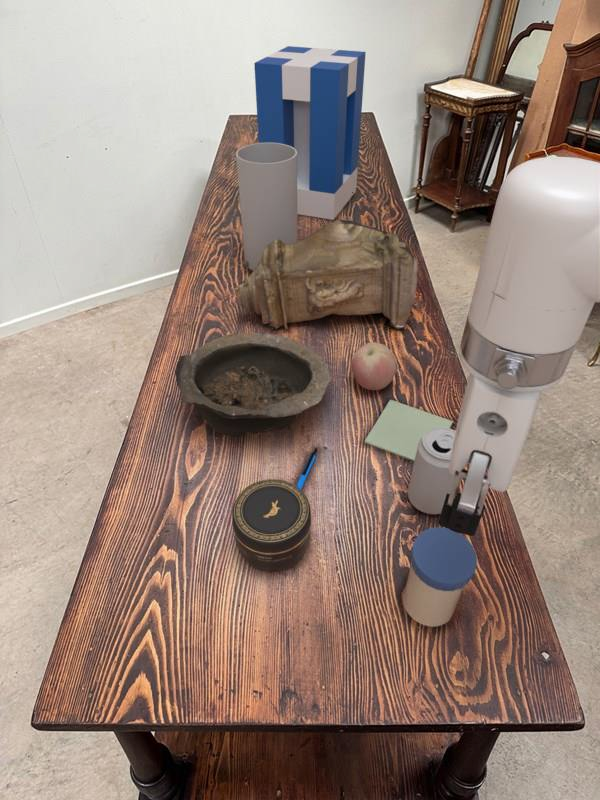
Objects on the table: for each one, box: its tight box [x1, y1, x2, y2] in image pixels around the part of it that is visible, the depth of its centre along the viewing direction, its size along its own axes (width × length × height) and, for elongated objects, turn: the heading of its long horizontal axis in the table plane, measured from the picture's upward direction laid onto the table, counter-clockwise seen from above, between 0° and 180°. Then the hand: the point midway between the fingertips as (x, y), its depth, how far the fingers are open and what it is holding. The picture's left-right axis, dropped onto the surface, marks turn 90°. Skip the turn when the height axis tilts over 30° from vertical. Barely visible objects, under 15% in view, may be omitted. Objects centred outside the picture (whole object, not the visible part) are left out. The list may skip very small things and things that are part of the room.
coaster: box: [363, 399, 454, 462], centre depth 87 cm, size 11×11×1 cm
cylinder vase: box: [235, 142, 299, 272], centre depth 119 cm, size 12×12×25 cm
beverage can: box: [407, 427, 456, 515], centre depth 73 cm, size 6×6×12 cm
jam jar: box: [402, 566, 465, 628], centre depth 62 cm, size 6×6×10 cm
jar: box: [231, 478, 312, 573], centre depth 69 cm, size 10×10×8 cm
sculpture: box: [235, 219, 419, 331], centre depth 107 cm, size 18×20×35 cm
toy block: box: [253, 45, 367, 221], centre depth 142 cm, size 21×21×35 cm
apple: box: [351, 341, 397, 391], centre depth 93 cm, size 8×8×8 cm
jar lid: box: [409, 526, 478, 592], centre depth 59 cm, size 7×7×2 cm
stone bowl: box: [174, 332, 331, 439], centre depth 89 cm, size 25×25×9 cm
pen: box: [296, 447, 318, 491], centre depth 77 cm, size 1×19×1 cm, turn 160°
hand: (465, 490), depth 51 cm, fingers open, 8 cm apart
